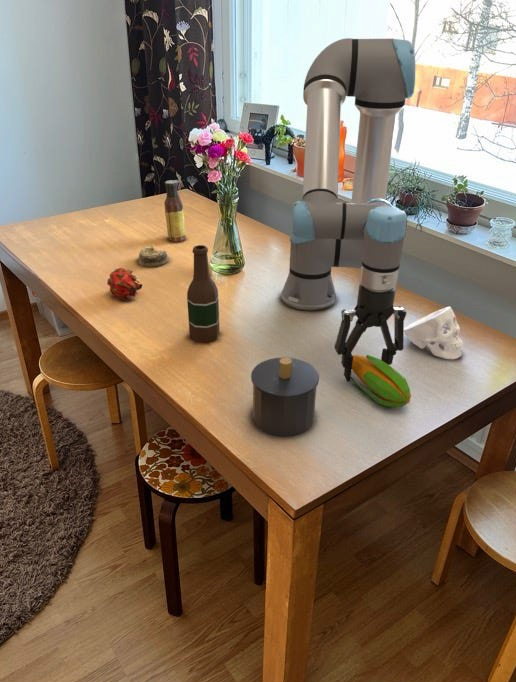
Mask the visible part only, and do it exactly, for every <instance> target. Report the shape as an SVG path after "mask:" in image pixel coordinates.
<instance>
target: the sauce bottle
mask: <svg viewBox="0 0 516 682" xmlns="http://www.w3.org/2000/svg"><path fill="white" fill-rule="evenodd" d="M164 186H165V191H166V197H165V199H164V212H165V213H164V214H165V223H166V231H167V236H168V237H167V238H168V240H169V241H171V242H174V243H180V242H183V241H185V240H186V238H187V236H186V235H187V234H186V233H187V231H186V222H185V214H184V205H183V203H182V200H181V198H180V195H179V192H178V181H177V180H176V179H175V180H174V179H170V180H166V181H165V182H164Z"/></svg>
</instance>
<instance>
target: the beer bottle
mask: <svg viewBox="0 0 516 682" xmlns="http://www.w3.org/2000/svg"><path fill="white" fill-rule="evenodd" d="M208 253H209V248H208V246H206V245H203V244H199V245H195V246H193V248H192V254H193V276H192V280H191V282H190V284H189V285H188V288H187V291H186V300H187V301H186V302H187V313H188V314H187V317H188V331H189V337H190V339H192V340H194V341H195V343H203V344H204V343H205V344H209V343H211V342H214V341H217V339H218V337H219V335H220V306H219V290H218V287H217V285H216V282H214V281H213V279H212V277H211V274H210V267H209V256H208Z"/></svg>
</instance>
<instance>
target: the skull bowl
mask: <svg viewBox="0 0 516 682" xmlns="http://www.w3.org/2000/svg"><path fill="white" fill-rule="evenodd" d="M460 332H461V328H460V325H459V324H458V321H457V316H456V314H455V312H454V310H453V308H452V307H451V306H446V307H444V308H441V309H438V310H436V311H434V312H431V313H430V314H427V315H425V316H423V317H421V318H419V319H418V320H417V319H416V321H414V322H412V323H410V324H409V325H407V326H406V327H404V335H405V336H406V338H408V340H409V341H410V342H411V343H412V344H413V345H415V346H416V347H417V348H420V349H422V350H423V349H425V347H426V346H427V347H428V348H429V350H430V352H431V353H432V355H434V356H435V357H439V358H442V359H445V360H457V359H459V358H460V357H461V356H462V351H461V349H462V348H463V346H464V342H463V341H462V338H460V337H459V335H460V334H459V333H460ZM440 346H442V347H443V348H442V347H440Z"/></svg>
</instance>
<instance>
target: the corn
mask: <svg viewBox="0 0 516 682" xmlns="http://www.w3.org/2000/svg"><path fill="white" fill-rule="evenodd" d="M352 356H353V363H352V372H353V373H354V374H355V375H356V376H357V378H358V379H359V380H360V381H361V382H362V383H363V384H364V386H366V387H367V388H368V389H370V390H368V389H367V388H366V387H364V386H363V385H362V384H360V382H358V381H357V380H355V379H354V378H353V377H352V376H351V379H350V380H351V381H352V382H353V383H354V384H356V385H357V386H358V387H359V388H360V389H361V390H363V392H365V393H366V394H367V395H368V396H369V397H370V398H372V400H373V401H374V402H376V403H377V404H379V405H381V406H385V407H389V408H401V407H404V406H406V405H407V404H409V403H410V402H411V399H412V396H413V395H412V393H411V388H410V385H409V383H408V381H407V379H406V378H405V377H404V376H403V375H402V374H401V373H399V372H398V371H397V370H396V369H395V368H393V367H392V366H391V365H388V364H387V363H385V362H384V361H382V360H381V358H378V357H375V356H373V355H370V354H366V355H365V356H364V355H359V354H352Z"/></svg>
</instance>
